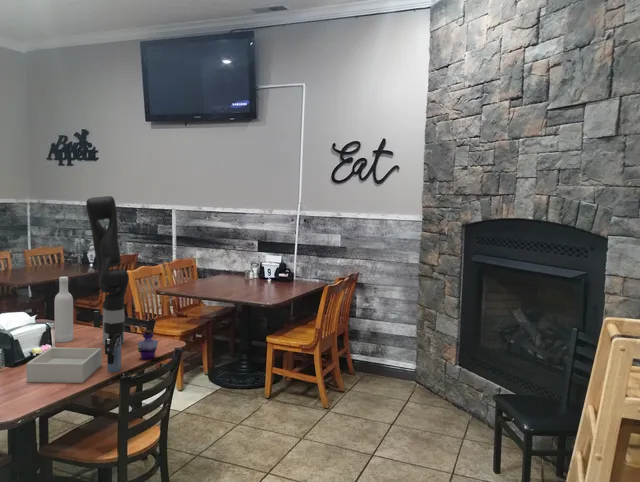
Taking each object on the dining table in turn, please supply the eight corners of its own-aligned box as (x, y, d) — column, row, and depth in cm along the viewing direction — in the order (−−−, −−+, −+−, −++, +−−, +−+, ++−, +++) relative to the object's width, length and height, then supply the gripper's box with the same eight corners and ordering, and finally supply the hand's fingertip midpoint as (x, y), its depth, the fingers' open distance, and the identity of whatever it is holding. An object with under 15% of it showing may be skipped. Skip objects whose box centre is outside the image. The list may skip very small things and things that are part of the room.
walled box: (51, 364, 211) (51, 347, 211) (101, 364, 212) (101, 348, 212) (26, 382, 191) (26, 363, 191) (82, 382, 193) (82, 364, 192)
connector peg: (110, 368, 209) (110, 344, 208) (121, 368, 209) (121, 344, 208) (107, 371, 205) (107, 347, 204) (117, 372, 205) (117, 347, 204)
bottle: (77, 338, 247) (76, 276, 245) (65, 343, 240) (65, 279, 237) (62, 337, 249) (62, 275, 246) (50, 341, 241) (50, 277, 239)
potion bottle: (135, 356, 225) (135, 329, 224) (155, 353, 229) (155, 327, 228) (140, 362, 218) (140, 334, 216) (160, 359, 222) (161, 331, 221)
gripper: (110, 315, 212) (110, 354, 213) (98, 324, 198) (98, 365, 199) (129, 316, 212) (129, 354, 214) (118, 324, 198) (118, 366, 200)
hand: (114, 360), depth 207 cm, fingers open, 8 cm apart
